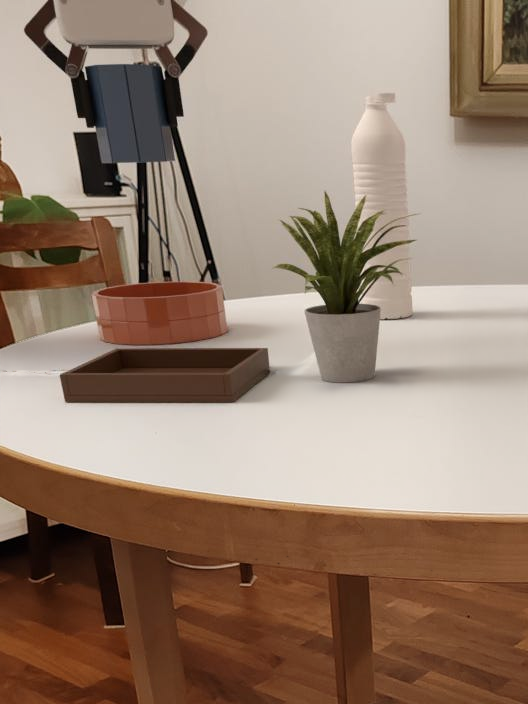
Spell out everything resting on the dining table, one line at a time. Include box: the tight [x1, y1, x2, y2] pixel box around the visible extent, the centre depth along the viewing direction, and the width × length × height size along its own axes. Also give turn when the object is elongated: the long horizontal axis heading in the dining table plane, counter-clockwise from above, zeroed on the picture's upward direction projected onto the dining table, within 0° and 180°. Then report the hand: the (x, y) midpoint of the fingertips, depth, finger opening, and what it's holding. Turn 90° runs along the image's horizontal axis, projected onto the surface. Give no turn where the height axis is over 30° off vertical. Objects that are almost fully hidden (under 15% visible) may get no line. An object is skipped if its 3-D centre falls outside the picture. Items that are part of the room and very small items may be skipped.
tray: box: [59, 347, 271, 403], centre depth 91 cm, size 15×12×2 cm
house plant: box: [272, 190, 422, 383], centre depth 89 cm, size 14×14×16 cm
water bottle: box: [350, 92, 414, 320], centre depth 120 cm, size 9×6×25 cm
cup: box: [84, 63, 176, 164], centre depth 93 cm, size 6×6×8 cm
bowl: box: [91, 280, 228, 346], centre depth 113 cm, size 14×14×6 cm
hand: (132, 125), depth 94 cm, fingers closed on cup, 6 cm apart
